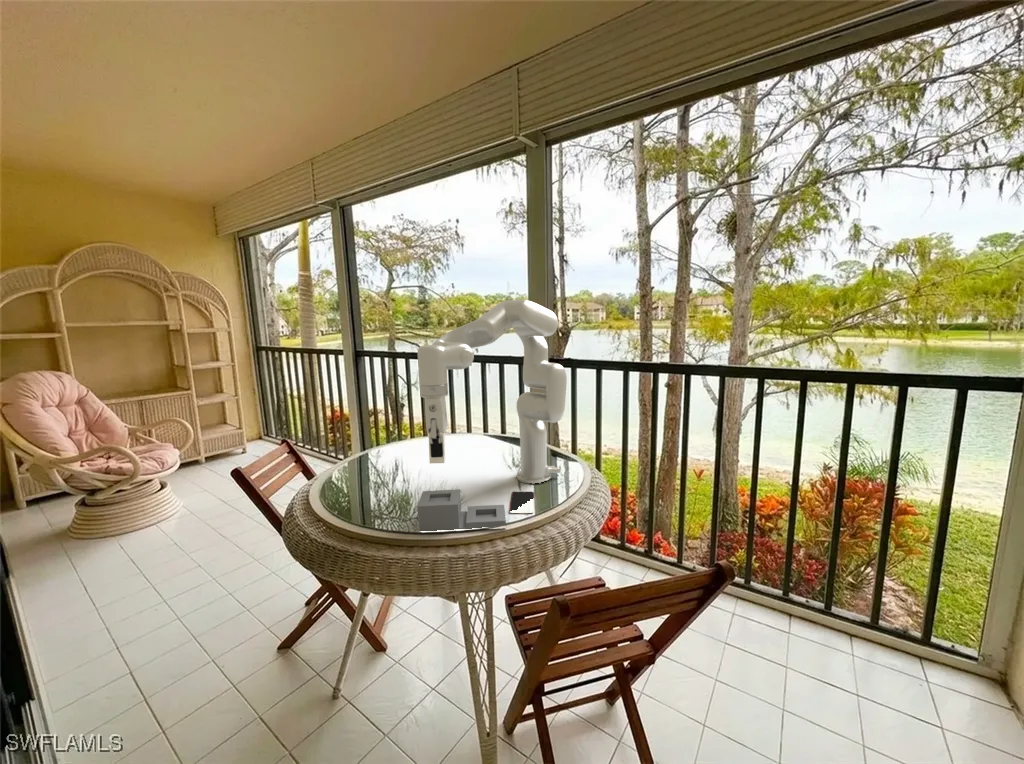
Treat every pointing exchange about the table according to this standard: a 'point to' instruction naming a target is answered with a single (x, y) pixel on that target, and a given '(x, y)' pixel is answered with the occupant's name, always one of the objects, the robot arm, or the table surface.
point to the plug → (442, 459)
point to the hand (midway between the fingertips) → (437, 453)
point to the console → (455, 512)
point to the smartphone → (520, 499)
